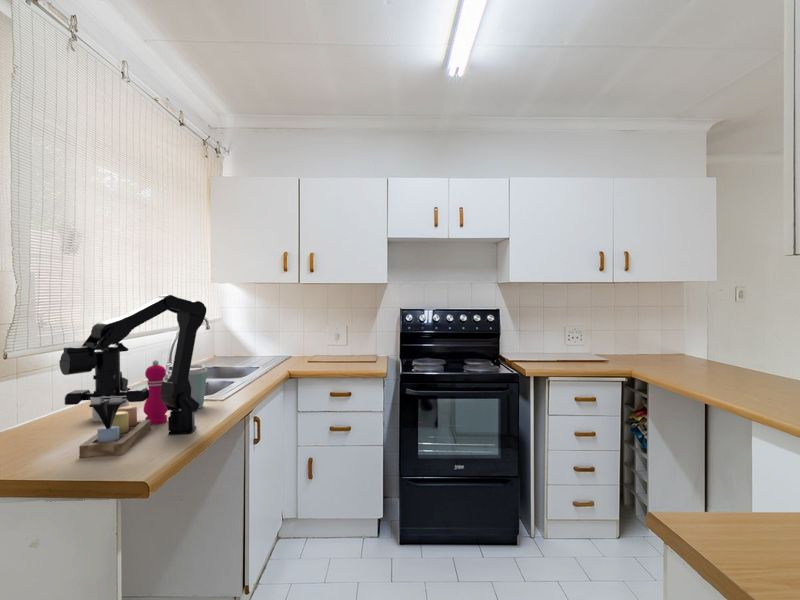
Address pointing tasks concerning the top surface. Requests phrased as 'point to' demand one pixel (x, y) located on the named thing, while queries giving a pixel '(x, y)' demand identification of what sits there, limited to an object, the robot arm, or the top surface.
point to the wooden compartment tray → (115, 448)
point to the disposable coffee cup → (198, 382)
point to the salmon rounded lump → (130, 414)
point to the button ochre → (121, 421)
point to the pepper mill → (155, 394)
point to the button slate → (108, 434)
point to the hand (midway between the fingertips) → (108, 428)
